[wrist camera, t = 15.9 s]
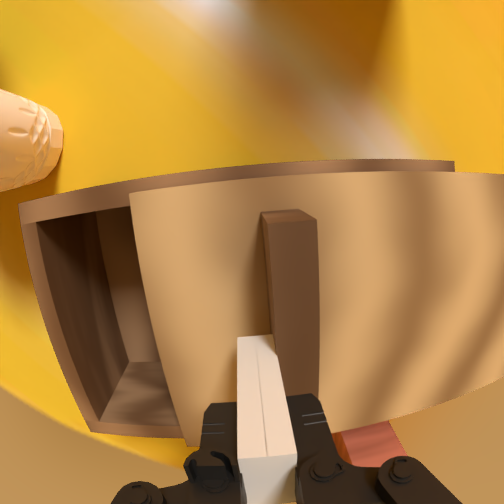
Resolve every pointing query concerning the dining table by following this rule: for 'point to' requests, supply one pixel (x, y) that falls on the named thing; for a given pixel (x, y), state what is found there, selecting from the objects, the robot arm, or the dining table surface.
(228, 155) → the dining table surface
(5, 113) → the white cup
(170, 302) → the lid
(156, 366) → the toolbox
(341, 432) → the reddish-brown wooden bar
